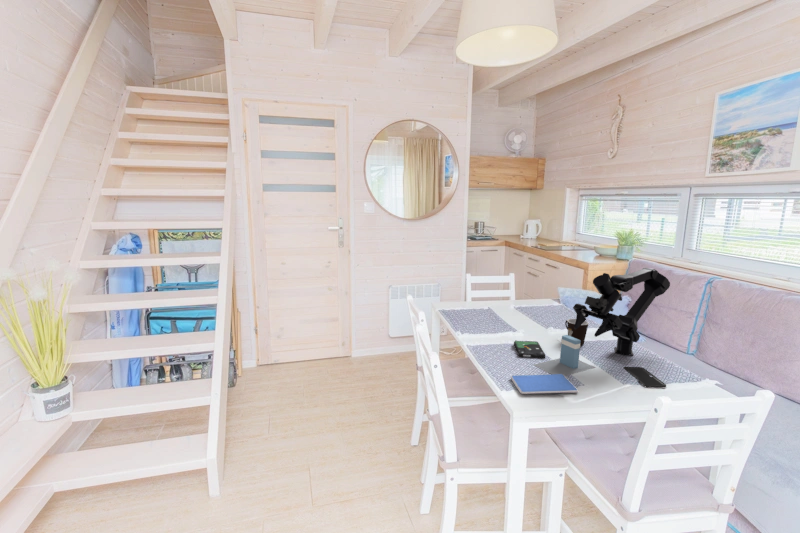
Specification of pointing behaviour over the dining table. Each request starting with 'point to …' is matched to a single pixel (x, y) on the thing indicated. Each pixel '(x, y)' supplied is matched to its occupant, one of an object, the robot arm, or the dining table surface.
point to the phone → (644, 377)
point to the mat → (562, 367)
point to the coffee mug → (577, 330)
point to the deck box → (570, 351)
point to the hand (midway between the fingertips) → (584, 332)
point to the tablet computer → (543, 384)
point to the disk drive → (529, 349)
